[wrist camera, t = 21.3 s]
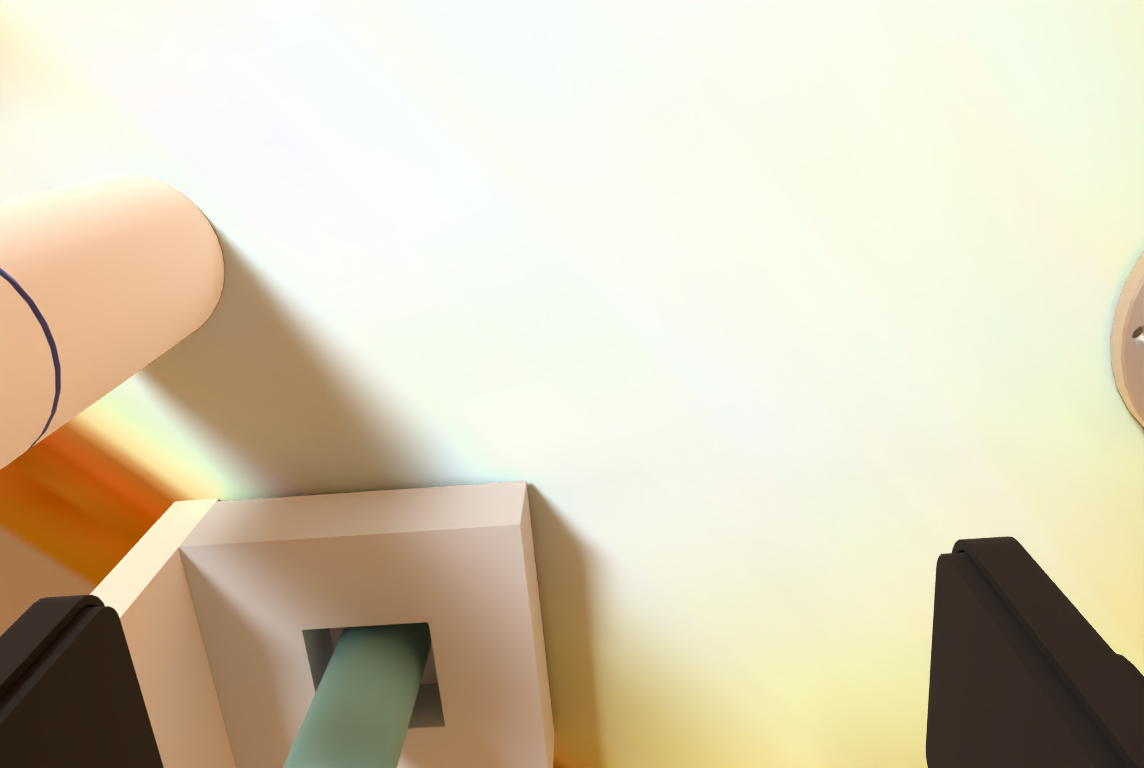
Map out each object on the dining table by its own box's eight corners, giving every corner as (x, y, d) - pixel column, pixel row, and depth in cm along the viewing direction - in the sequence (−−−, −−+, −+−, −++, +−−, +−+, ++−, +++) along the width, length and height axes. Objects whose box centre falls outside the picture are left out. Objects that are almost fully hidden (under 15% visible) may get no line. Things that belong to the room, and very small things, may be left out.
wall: (218, 498, 42) (109, 629, 32) (277, 747, 46) (198, 925, 37) (175, 501, 42) (54, 633, 32) (239, 749, 46) (149, 927, 37)
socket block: (526, 480, 41) (520, 524, 37) (554, 736, 45) (551, 798, 42) (216, 501, 41) (178, 547, 38) (276, 751, 46) (248, 814, 42)
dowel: (425, 596, 42) (376, 753, 32) (436, 670, 43) (392, 842, 33) (338, 601, 42) (264, 758, 32) (352, 674, 43) (284, 846, 34)
